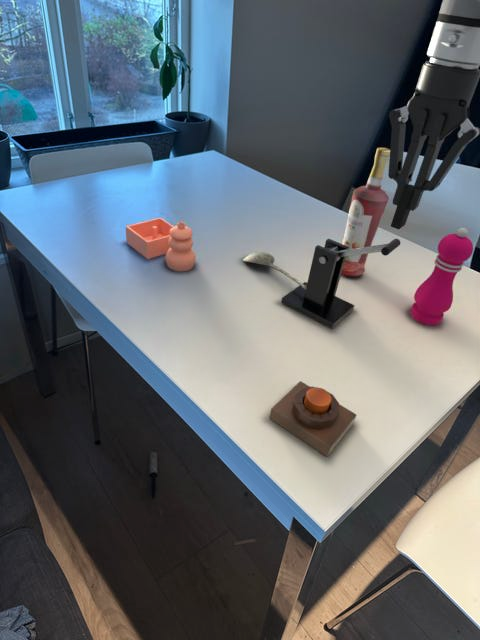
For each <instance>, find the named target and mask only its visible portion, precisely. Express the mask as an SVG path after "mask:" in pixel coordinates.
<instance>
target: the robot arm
mask: <svg viewBox="0 0 480 640" xmlns="http://www.w3.org/2000/svg"><path fill="white" fill-rule="evenodd" d="M426 55H427V57H428V58H429V60H425V63H423V64H422V66H421V70H420V74H419V77H418V80H417V83H416V87H415V90H414V93H413V96H412V97H411V98H410V99H409V100H408V102H407V104H406V105H405V106H402V107H400V108H399V107H398V108H396V109H392V110H390V111H389V113H388V118H389V122H390V125H391V135H390V146H389V147H390V148H389V150H390V155H389V159H388V161H389V162H388V175H387V176H388V178H389V179H391V180H393V181H395V182H396V185H397V186H396V188H395V192H394V195H393V198H392V205H394V206H396V208H395V211H394V214H393V217H392V221H391V223H390V227H391V228H392V229H393V228H394V229H396V230H400V229H402V228H403V227H404V226H406V223H407V220H408V218H409V215H410V213H411V211H412V212H414V211H415V210H416V209H417V208H418V207H419V206H420V203H421V200H422V197H423V194H424V192H425V191H427V192H433V191H434V190H436V189H437V188H438V187H440V186H441V184H442V182H443V181H444V179H445V178H446V176H447V175H448V173H450V170H451V169H452V167H453V166H454V164H455V163H456V161H458V159H459V158H460V156H461V154H462V153H463V151H464V150H465V149H466V147H467V146H468V144H469V143H470V142H472V141H473V140H474V139H476V138H477V137H478V136H479V135H480V128H479V127H477V126H474V124H473V122H471V120H470V119H469V118H470V113H471V112H470V104H471V101H472V99H473V97H474V94H475V91H476V88H477V86H478V84H479V81H480V68H479V67H480V0H442V2H441V5H440V10H439V12H438V17H437V20H436V22H435V24H434V28H433V31H432V35H431V39H430V42H429V45H428V48H427V51H426ZM408 119H409V120H410V122H411V123H410V124H411V126H412V129H413V130H412V133H411V137H410V143H409V146H408V149H407V153H406V156H405V159H404V152H405V141H406V139H405V138H406V129H407V124H406V122H407V121H408ZM459 127H460V129H459V131H458V132H457V138H458V139H456V141H455V142H454V143H453V145H452V146H451V148H450V149H449V151H448V152H447V154H446V156H445V157H444V158H443V160H442V162H441V163H440V164H439V166H438V167H437V169H436V171H435V172H434V174H433V175H432V177H431V174H432V172H433V170H434V167H435V164H436V161H437V158H438V157H439V152H440V150H441V148H442V145H443V143H444V142H445V140H446V137H447V136H449V135H450V134H451V133H452V132H454V131H455V130H457V129H458V128H459ZM427 137H429V138H428V141H427V147H426V150H425V153H424V155H423V158H422V161H421V165H420V167H419V170H418V174H417V175H416V178H415V182H414V184H410V183H411V182H412V181H413V179H412V178H413V175H414V173H415V170H416V166H417V164H418V161H419V158H420V155H421V152H422V149H423V147H424V143H425V141H426V139H427ZM403 161H404V162H403Z"/></svg>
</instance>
